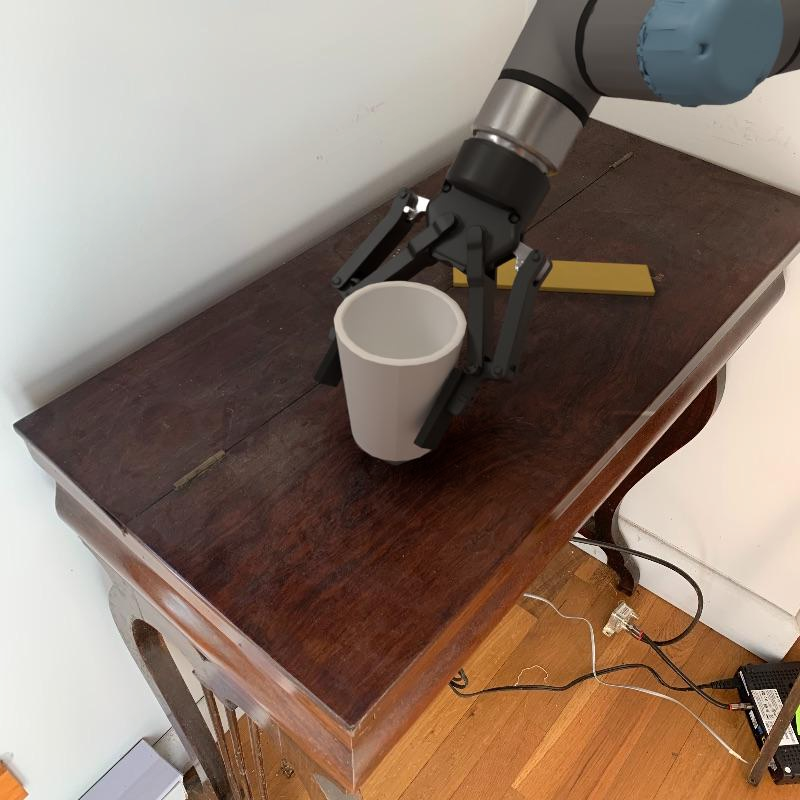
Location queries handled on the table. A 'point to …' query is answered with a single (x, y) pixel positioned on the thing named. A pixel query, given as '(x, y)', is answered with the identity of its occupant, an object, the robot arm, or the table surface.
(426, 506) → the table surface
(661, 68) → the robot arm
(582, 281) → the yellow plank
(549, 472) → the table surface
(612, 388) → the table surface
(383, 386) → the cup
